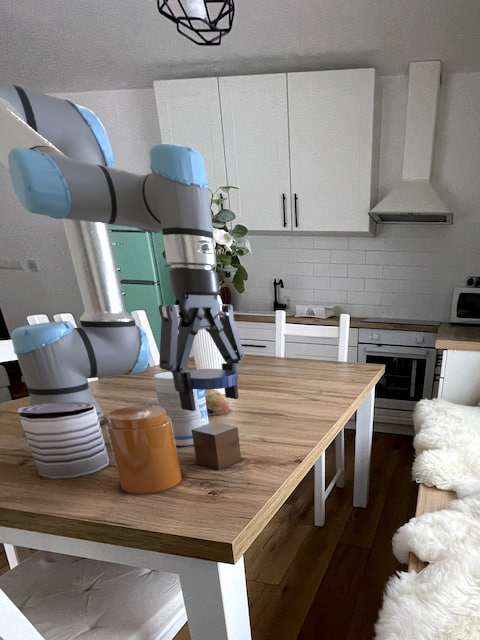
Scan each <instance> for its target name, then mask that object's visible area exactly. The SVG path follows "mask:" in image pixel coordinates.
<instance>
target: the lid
mask: <svg viewBox="0 0 480 640" xmlns="http://www.w3.org/2000/svg"><path fill="white" fill-rule="evenodd" d="M185 372H190V374H191V381H192V387H193V389H197V390H209V389H211V390H220V389H225V388H227V387H231V386H234V385H236V384H237V385H238V380H237V376H236V372H235V371H232V370H226V369H222V368H199V369H197V368H196V369H190V370H185Z"/></svg>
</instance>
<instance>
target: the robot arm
mask: <svg viewBox="0 0 480 640" xmlns="http://www.w3.org/2000/svg"><path fill="white" fill-rule="evenodd" d="M112 149H113V148H112V145H111V141H110V138H109V136H108V134H107V130H106V129H105V127H104V125H103V123H102V122H101V120H100V119H99V117H98V116H97V114H95V113H94V112H93V111H92V110H91V109H90V108H87V107H86V106H83V105H80V104H77V103H74V102H72V101H71V100H69V99H63V98H59V97H56V96H52V95H49V94H45V93H43V92H38V91H35V90H33V89H28V88H26V87H22V86H18V85H16V84H13V83H10V82H7V81H3V80H0V162H1V164H2V165H4V166H5V167H6V168H7V169H8V170H9V175H10V179H11V184H12V187H13V189H14V190H13V191H14V193H15V195H16V197H17V198H18V201H19V203H20V205H21V206H22V207H23V208H24V209H25V210H26V211H28V212H29V213H31V214H34V215H38V216H39V215H41V216H44V217H50V218H52V219H55V220H61V221H62V223H63V228H64V230H65V235H66V240H67V243H68V248H69V252H70V255H71V260H72V264H73V268H74V271H75V275H76V279H77V284H78V289H79V293H80V296H81V300H82V303H83V308H84V311H83V314H82V315H81V316H80V317H79V322H80V326H81V327H75V326H74V324H72V322H70V321H68V320H67V321H65V320H63V321H62V320H61V321H49V322H40V323H33V324H30V325H28V324H27V325H24V326H23V325H22V326H19V327H16V328H15V329H13V330H12V332H11V334H10V338H11V342H12V345H13V353H14V354H15V355H16V358H17V361H18V364H19V367H20V370H21V374H22V376H23V378H24V382H25V385H26V388H27V391H28V394H29V406H34V405H40V404H50V403H66V402H85V403H95V409H96V412H97V416H98V420H99V424H100V426H102V425H103V424H105V423H107V422H106V421H107V417H106V415H105V412H104V411H103V409H102V407H101V406H100V404H99V403H98V401H97V400H96V398H95V397H94V395H93V393H92V392H91V390H90V387H89V384H88V379H96V378H97V379H98V378H104V377H106V378H107V377H112V376H113V377H114V376H124V375H126V376H130V375H133V374H138V373H142V372H144V371H145V370H146V369H147V368H148V365H149V363H150V359H151V358H150V357H151V347H150V341H149V338H148V336H147V332H146V330H145V329H144V328H143V327H142V326H141V325H138V324H137V323H136V319H135V317H133V315H131V314H130V313H128V311H127V309H126V304H125V299H124V294H123V289H122V285H121V278H120V274H119V270H118V265H117V261H116V255H115V250H114V246H113V242H112V236H111V231H110V226H111V225H112V226H119V227H127V228H135V229H137V230H139V231H141V232H144V233H154V234H158V233H161V235H162V239H163V247H164V253H165V260H166V263H167V264H168V265H169V266H171V268H170V269H169V271H168V276H169V277H168V278H169V283H170V290H171V292H172V294H173V295H174V297H175V301H174V304H159V305H158V312H159V316H160V341H159V342H160V345H159V363H158V365H159V369H161V370H166V371H167V372H172V374H173V380H174V385H175V389H176V391H177V392H179V396H180V401H181V407H182V409H184V410H189V411H195V410H196V406H195V400H194V394H193V387H192V381H191V374H190V372H185V371H187V367H188V362H189V360H190V356H191V352H192V348H193V344H194V340H195V336H197V335H198V333H199V331H203V330H205V332H206V333H208V334H209V336H210V337H211V339H212V341H213V343H214V345H215V346H216V348H217V350H218V352H219V353H220V356H221V357H222V359H223V360H224V362H223V363H221V369H226V370H232V371H235V372H236V376H237V381H238V380H239V372H238V365H240V364H241V363H242V360H243V359H245V353H244V348H243V346H242V342H241V339H240V335H239V332H238V329H237V325H236V322H235V318H234V307H233V305H232V304H222V303H220V302H219V300H218V296H219V295H220V294H221V289H220V288H221V287H220V281H219V273H218V272H217V271H216V270H214V268H216V267H217V257H216V256H217V255H216V248H215V240H214V229H213V220H212V209H211V199H210V190H209V189H210V188H209V187H210V185H209V182H208V180H207V173H206V166H205V160H204V158H203V156H202V155H201V154H200V153H199V152H198V151H197V150H195V149H193V148H191V147H188V146H184V145H180V144H175V143H157V144H153V146H152V147H151V148H150V150H149V158H150V165H149V168H150V170H151V173H147V174H143V173H137V172H133V171H128V170H123V169H119V168H115V166H114V154H113V150H112ZM109 225H110V226H109ZM224 396H225V397H226V398H227V399H232V400H238V399H240V398H239V390H238V383H237V384H236V385H234V386H231V387H227V388H224Z"/></svg>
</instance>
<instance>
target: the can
mask: <svg viewBox="0 0 480 640" xmlns="http://www.w3.org/2000/svg"><path fill="white" fill-rule="evenodd" d="M15 413H19V415H18V417H19V421H20V423H21V427H22V430H23V432H24V435H25V437H26V440H27V444H28V446H29V449H30V452H31V454H32V457H33V460H34V463H35V466H36V469H37V472H38V474H39V476H42V477H44V478H48V479H50V480H56V479H57V480H58V479H73V478H79V477H82V476H86V475H90V474H95V473H96V472H99V471H100V470H102V469H104V468H106V467H107V466H109V461H110V458H109V454H108V450H107V446H106V442H105V439H104V436H103V432H102V428H101V425H100V424H99V420H98V416H97V412H96V409H95V403H85V402H66V403H50V404H40V405H34V406H30V405H29V406H23V407H19V408H18V409H17V410H16V411H15Z"/></svg>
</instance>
